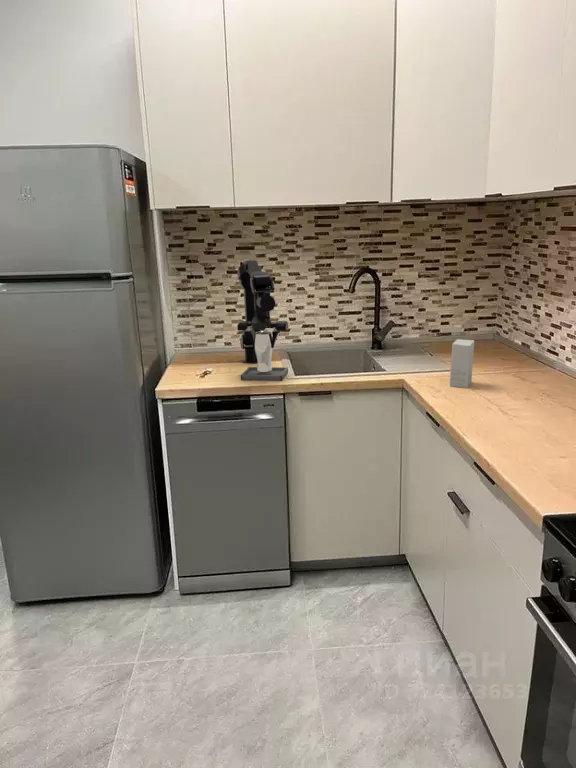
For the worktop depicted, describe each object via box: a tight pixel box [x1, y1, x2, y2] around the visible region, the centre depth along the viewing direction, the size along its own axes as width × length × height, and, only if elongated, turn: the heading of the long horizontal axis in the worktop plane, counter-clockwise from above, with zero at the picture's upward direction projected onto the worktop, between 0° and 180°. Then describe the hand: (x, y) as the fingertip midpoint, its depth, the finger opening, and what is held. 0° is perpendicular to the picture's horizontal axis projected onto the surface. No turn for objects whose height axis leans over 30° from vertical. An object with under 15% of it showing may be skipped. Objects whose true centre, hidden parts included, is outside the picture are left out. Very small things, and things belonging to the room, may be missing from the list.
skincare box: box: [449, 338, 475, 389], centre depth 207 cm, size 8×7×16 cm
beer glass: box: [254, 330, 273, 373], centre depth 226 cm, size 7×7×15 cm
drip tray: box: [240, 366, 289, 382], centre depth 229 cm, size 13×16×2 cm
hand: (263, 348), depth 226 cm, fingers closed on beer glass, 7 cm apart
